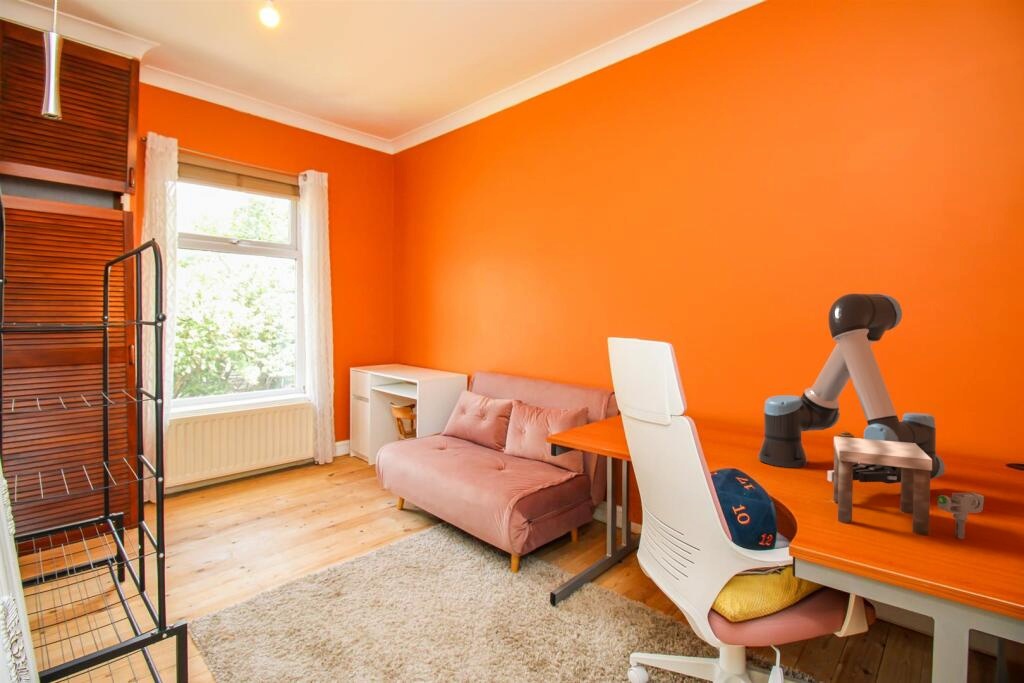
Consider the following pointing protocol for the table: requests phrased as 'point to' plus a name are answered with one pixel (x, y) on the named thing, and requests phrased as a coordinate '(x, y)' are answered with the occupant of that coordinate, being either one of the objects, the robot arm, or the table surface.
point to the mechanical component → (961, 508)
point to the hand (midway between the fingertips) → (829, 476)
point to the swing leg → (836, 475)
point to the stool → (889, 454)
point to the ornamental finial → (845, 435)
